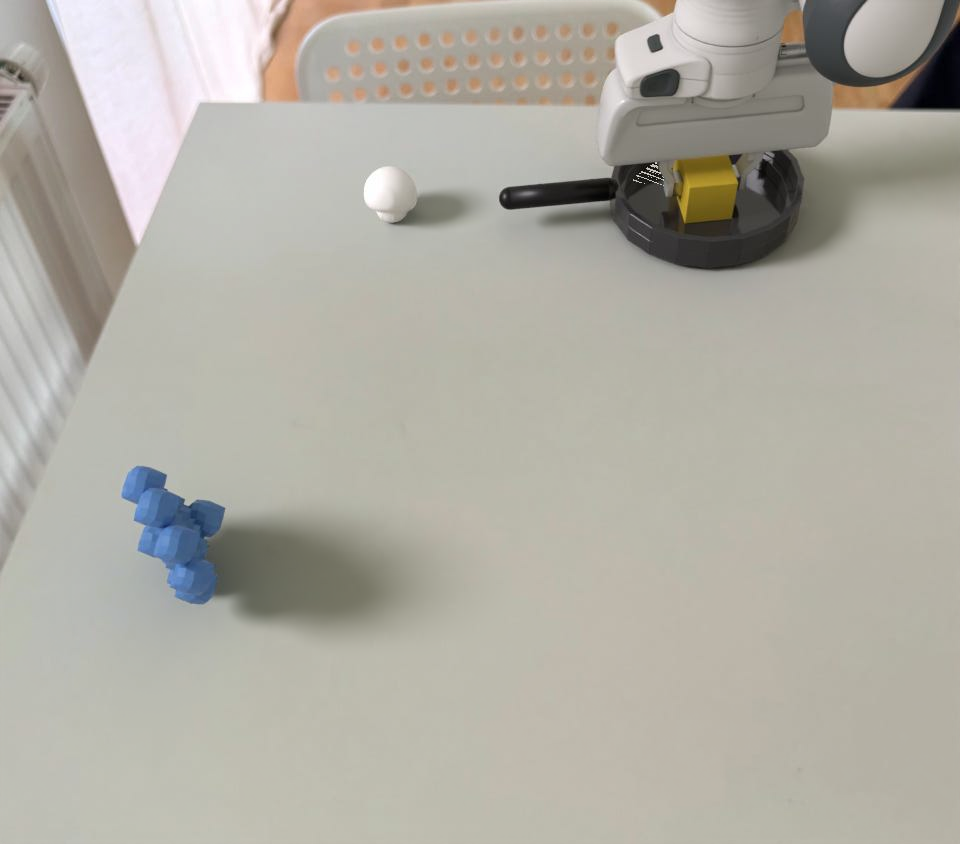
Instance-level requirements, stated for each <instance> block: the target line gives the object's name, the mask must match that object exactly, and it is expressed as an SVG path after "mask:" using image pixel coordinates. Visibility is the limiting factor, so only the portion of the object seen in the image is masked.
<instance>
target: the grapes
mask: <svg viewBox="0 0 960 844" xmlns="http://www.w3.org/2000/svg"><path fill="white" fill-rule="evenodd" d="M167 478H168V474H166V473H164V472H162V471H160V470H158V469H155V468H153V467H150V466H144V465H136V466H135V467H133V468H131V470H129V471H128V472H127V474H126V477H125V480H124V483H123V485H122V491H121V498H122V499H123V500H126V501H128V502H130V503H132V504H136V508H135V511H134V516H133V521H134V522H136V523H139V524H141V525H142V526H144V527H143V529H142V532H141V535H140V538H139V541H138V545H137V551H138V552H139V553H142V554H144V555H147V556H149V557H152V558H153V559H154V558H156V559H159V560H161V562H162V563H164V564H165V566H164V568H166V569H167V570H169V572H168V575H167V576H168V577H167V580H166V583H167V585H169V588H171V589H174V590H175V593H174V598H176V599H178V600H181V601H184V602H186V603H188V604H191V605H192V604H193V605H206V603H208V602H209V601H210V600H211V599H212V598H213V596H214V593H215V591H216V587H217V583H218V578H219V574H217V573H215V566H216V564H215V563H214V562H211V561H208V560H206V558H207V557H206V556H207V554H208V550H209V547H210V545H207V544H208V539H205V538H212V537H213V536H215V535H216V534H217V533H219V531H220V529H221V527H222V524H223V521H224V517H225V513H226V507H225V506H222V505H221V504H218V503H216V502H213V501H211V500H207V499H195V500H194V501H193V502H192V503H190V504H189V505H186V504H185V501H186V498H184V497H181V496H180V495H178V494H176V493H173V492H171V491H169V489H168V488H166V487H165V486H166V482H167Z"/></svg>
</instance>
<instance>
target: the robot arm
mask: <svg viewBox="0 0 960 844" xmlns="http://www.w3.org/2000/svg"><path fill="white" fill-rule="evenodd" d="M675 1H676V2H675V4H674V8H673V11H672V12H670V13H668V14H667V15H664V16H663V17H660V18H658V19H655V20H654V21H652V22H649V23H646V24H644V25H642V26H639V27H637V28H634V29H631V30H629V31H626V32H624V33H621V34H620V35H619V36H617V38H616V39H615V42H614V62H615V68H613V69H612V70H611V71H610V72H609V74H608V75H607V77H606V79H605V81H604V84H603V87H602V90H601V95H600V100H599V105H598V111H597V118H596V125H595V140H596V146H597V151H598V154H599V157H600V159H601V160H602V161H603V162H604V163H605V164H606V166H609V167H614V166H621V165H631V164H642V163H652V162H657V165H658V168H659V171H660V172H661V174H662V175H663V177H664V191H665V195H666V197H676V196H682V192H683V191H682V189H683V184H684V181H683V178H682V175H681V172H680V170H672V169H671V168H674V165H675V160H684V159H694V158H705V157H715V156H726V155H736V154H742V156H741V157H740V159H739V160H738V161H737V163H736V164H735V165H732V167H733V170H734V173H735V175H736V178H737V181H738V187H737V191H738V190H744V188H745V182H746V177H747V176H748V175H749V174H750V173H751V172H752V171H753V170H754V169H755V167H756V166H757V165H758V164H759V163H760V162H761V161H762V158H763V153H764V152H768V151H779V150H788V151H790V150H797V149H811V148H815V147H818V146H819V145H820V144H821V143H822V142H824V140H826V138H827V137H828V135H829V131H830V127H831V122H832V121H831V120H832V113H833V101H834V86H835V85H837V84H838V85H840V86H846V87H852V88H871V87H877V86H878V87H879V86H883V85H886V84H889V83H892V82H896V81H898V80H900V79H902V78H904V77H906V76H908V75H909V74H911V73H913V72H914V71H916V70H917V69H918V68H920V67H921V66H923V65H924V64H925V63H926V62H927V61H929V60H930V59H931V58H932V57H933V56H934V55H935V53H936V52H937V51H938V50H939V49H940V48H941V46H942V45H943V43H944V42H945V40H946V39H947V37H948V35H949V34H950V31H951V30H952V27H953V25H954V23H955V20H956V17H957V14H958V11H959V8H960V0H675ZM795 11H801V14H802V29H803V40H804V41H803V42H802V41H793V42H792V41H791V42H782V38H783V32H784V29H785V22H786V18H787V16H788V15H789V14H790V13H792V12H795Z"/></svg>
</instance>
